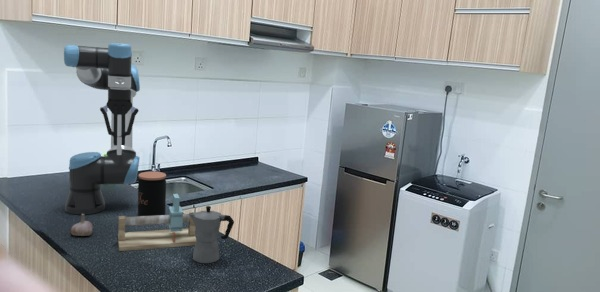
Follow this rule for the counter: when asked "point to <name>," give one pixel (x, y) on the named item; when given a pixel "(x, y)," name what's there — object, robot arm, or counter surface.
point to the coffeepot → (208, 234)
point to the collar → (175, 215)
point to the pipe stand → (154, 233)
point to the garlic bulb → (82, 228)
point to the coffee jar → (151, 194)
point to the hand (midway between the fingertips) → (119, 154)
